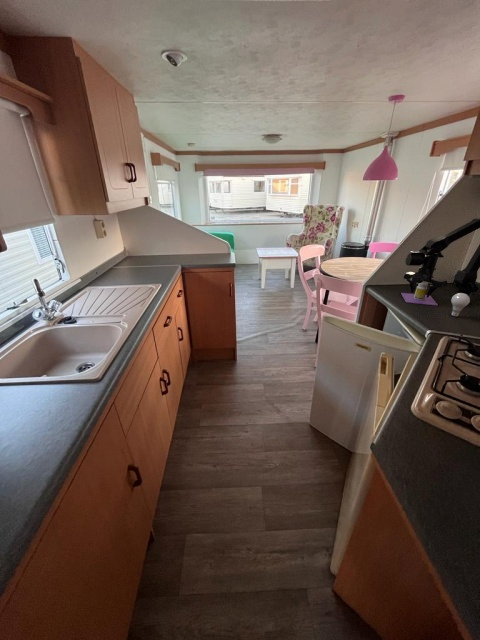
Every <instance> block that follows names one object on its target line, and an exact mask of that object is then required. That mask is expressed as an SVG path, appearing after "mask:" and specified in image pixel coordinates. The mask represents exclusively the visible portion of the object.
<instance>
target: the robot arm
mask: <svg viewBox="0 0 480 640" xmlns="http://www.w3.org/2000/svg"><path fill="white" fill-rule="evenodd" d="M479 229H480V217H475V218H473V219H471V220H470V221H469V222H466V223H465V224H463V225H461V226H459V227H458V228H456V229H454V230H452V231H450V232H448V233H446V234H444V235H440V236H436V237H434V238H431V239H429V240H427V242H425V245H424V246H423V247H421V249H419V250H418V251H409V253H408V254H407V255H406V257H405V265H406V266H407V267H408V266H409V267H410V266H416V267H419V268H418V270H417V271H416V272H413V271H408V272H405V273H404V274H403V277H402V278H403V279H404V280H406V281H407V282H408V283H409V286H410V294H414V293H415V291H416V288H417V284H419V283H422V282H424V283H428V284H431V285H428V287H429V289H428V290H427V293H426V295H427V298H428V297H429V296H431V295H432V294H433V293H434V292H435V291H436V290H437V289H438V288H439V289H441V288H445V287H447V285H448V280H446V279H442V278H437V279H434V274H435V271H436V270H437V268H436V266H437V263H438V261H439V258H444V257H445V256H444V255H443V254H442V252H443V251H444V250H446V249H447V248H448V247H449V246H450V245H452V244H453V243H454V242H456V241H458V240H460V239H461V238H464V237H466V236H467V235H469V234H471V233H473V232H475V231H476V230H479ZM479 269H480V243H479V244H478V246H477V247H476V250H475V251H474V253H473V254H472V256H471V258H470V259H469V262H467V265H466V267H464V268H463V269H462V270H460V269H458V270H457V273H456V274H455V275H454V276H453V278H454V279H453V281H454V283H455V287H456V288H458V289H457V292H456V294H458V293H464V294H466V295H468V296H469V298H470V299H471V296H472V294H474V293H477V292H478V291H479V290H480V288H479V287H478V285H477V284H476V282H477V279H478V272H479ZM470 304H471V301H470V302H469V304H468V305H470Z"/></svg>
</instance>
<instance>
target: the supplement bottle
mask: <svg viewBox="0 0 480 640" xmlns="http://www.w3.org/2000/svg"><path fill="white" fill-rule="evenodd" d="M417 284H418V285H416V287H415V290H414V294H415V295H414V298H415V299H417V300H424V298H425V295H427V293H428V287H429V282H425V281H423V282H422V283H417Z"/></svg>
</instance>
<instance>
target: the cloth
mask: <svg viewBox="0 0 480 640" xmlns="http://www.w3.org/2000/svg"><path fill="white" fill-rule="evenodd" d="M400 294H401V296H402V299H403V300H404V301H405V303H406V304H414V305H415V304H416V305H424V306H425V305H427V306H435V307H439V305H438V303H437V301H436V300H435V299H434V298H433V297H432V296H431V295H430V296H429V297H428V298H427V294H426V295H425V298H424V300H417V299H415V298H414V295H415V293H408V292H401V293H400Z"/></svg>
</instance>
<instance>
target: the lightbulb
mask: <svg viewBox="0 0 480 640" xmlns="http://www.w3.org/2000/svg"><path fill="white" fill-rule="evenodd" d="M450 299H451V300H450V303H451V305H452V311H451V314H450V315H451V316H453V317H459V315H460V313H461V311H462V310H463V309H464V308H465V307H467V306H468V305H470V304H469V302H470V303H471V297H470V298H469V296H468V295H466V294H464V293H458V294H457V293H456V294H454V295H453V296H452V297H451V298H450Z"/></svg>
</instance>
